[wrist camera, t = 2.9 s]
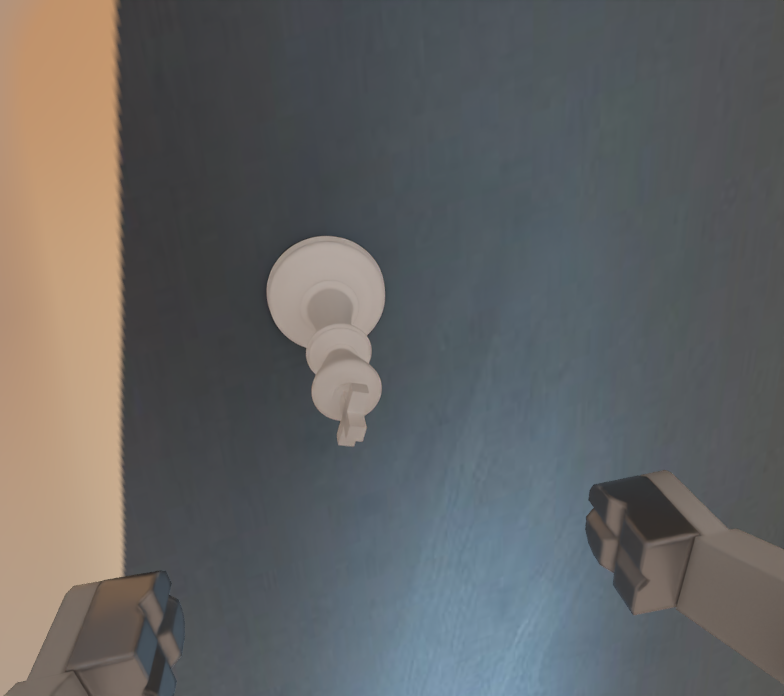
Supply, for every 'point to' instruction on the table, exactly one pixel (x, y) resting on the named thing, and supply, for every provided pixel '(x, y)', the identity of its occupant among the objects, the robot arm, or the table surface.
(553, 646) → the table surface
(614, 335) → the table surface
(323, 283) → the chess piece
